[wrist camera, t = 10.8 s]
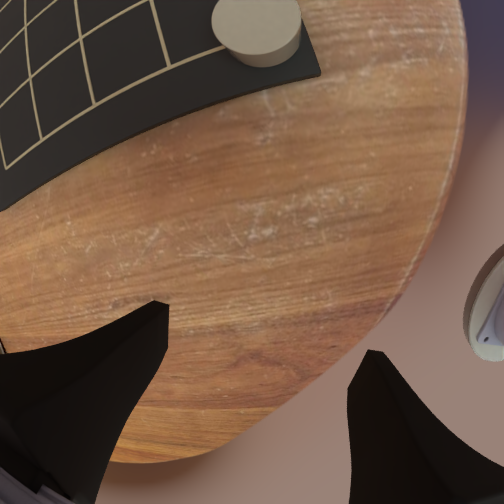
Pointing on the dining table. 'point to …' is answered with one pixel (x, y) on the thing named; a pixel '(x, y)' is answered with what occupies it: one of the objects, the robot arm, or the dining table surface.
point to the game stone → (258, 30)
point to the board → (110, 78)
